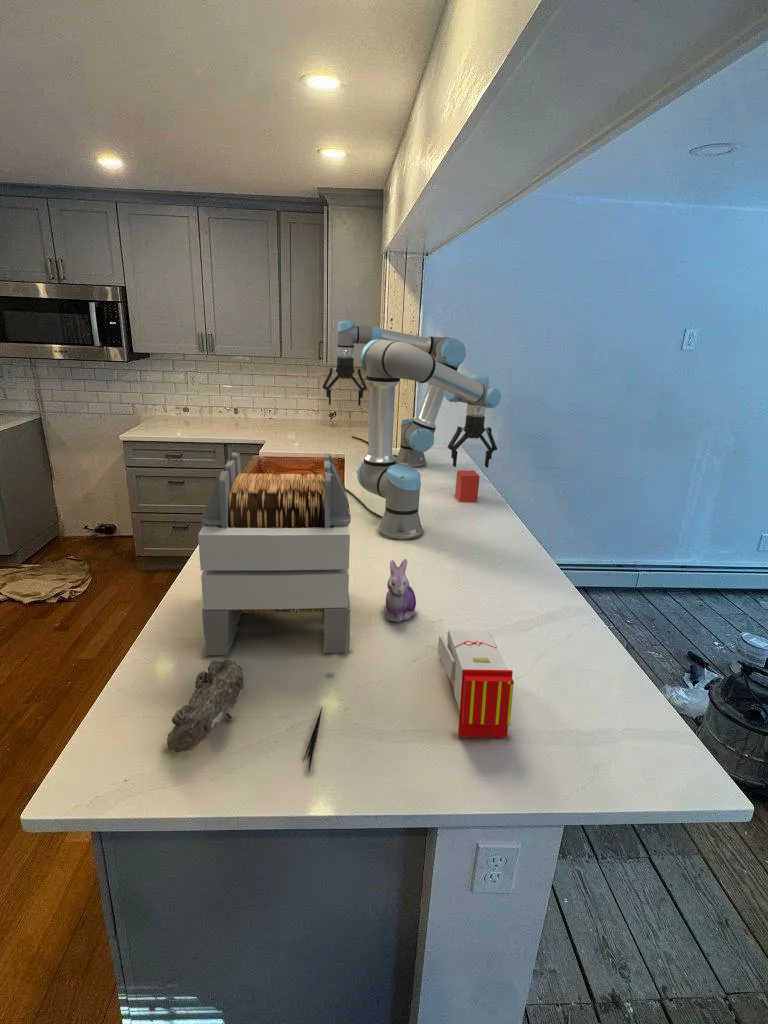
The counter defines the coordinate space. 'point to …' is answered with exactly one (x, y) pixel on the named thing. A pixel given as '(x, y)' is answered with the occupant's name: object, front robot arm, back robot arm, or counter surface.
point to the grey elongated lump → (206, 705)
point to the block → (467, 486)
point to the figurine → (399, 594)
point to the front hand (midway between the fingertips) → (470, 466)
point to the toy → (478, 682)
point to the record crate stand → (275, 551)
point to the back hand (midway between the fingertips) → (344, 404)
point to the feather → (313, 740)
